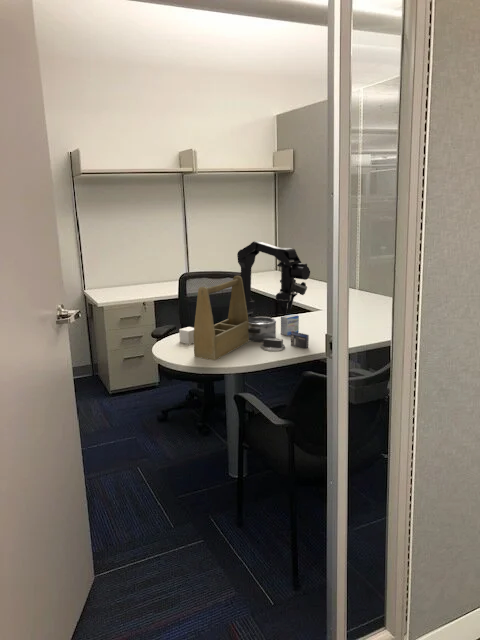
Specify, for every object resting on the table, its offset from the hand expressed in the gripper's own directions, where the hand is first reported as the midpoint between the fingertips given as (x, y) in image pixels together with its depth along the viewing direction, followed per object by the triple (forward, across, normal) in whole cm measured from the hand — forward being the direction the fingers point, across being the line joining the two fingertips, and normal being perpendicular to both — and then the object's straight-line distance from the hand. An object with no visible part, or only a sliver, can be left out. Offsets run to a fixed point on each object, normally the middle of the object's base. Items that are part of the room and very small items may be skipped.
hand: (287, 311), depth 228 cm
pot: (+13, +1, +13) cm, 19 cm away
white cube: (+14, -14, +42) cm, 47 cm away
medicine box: (+14, +12, +2) cm, 18 cm away
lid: (+14, -12, +3) cm, 19 cm away
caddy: (+14, -20, +24) cm, 34 cm away
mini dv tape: (+14, -8, -7) cm, 17 cm away
